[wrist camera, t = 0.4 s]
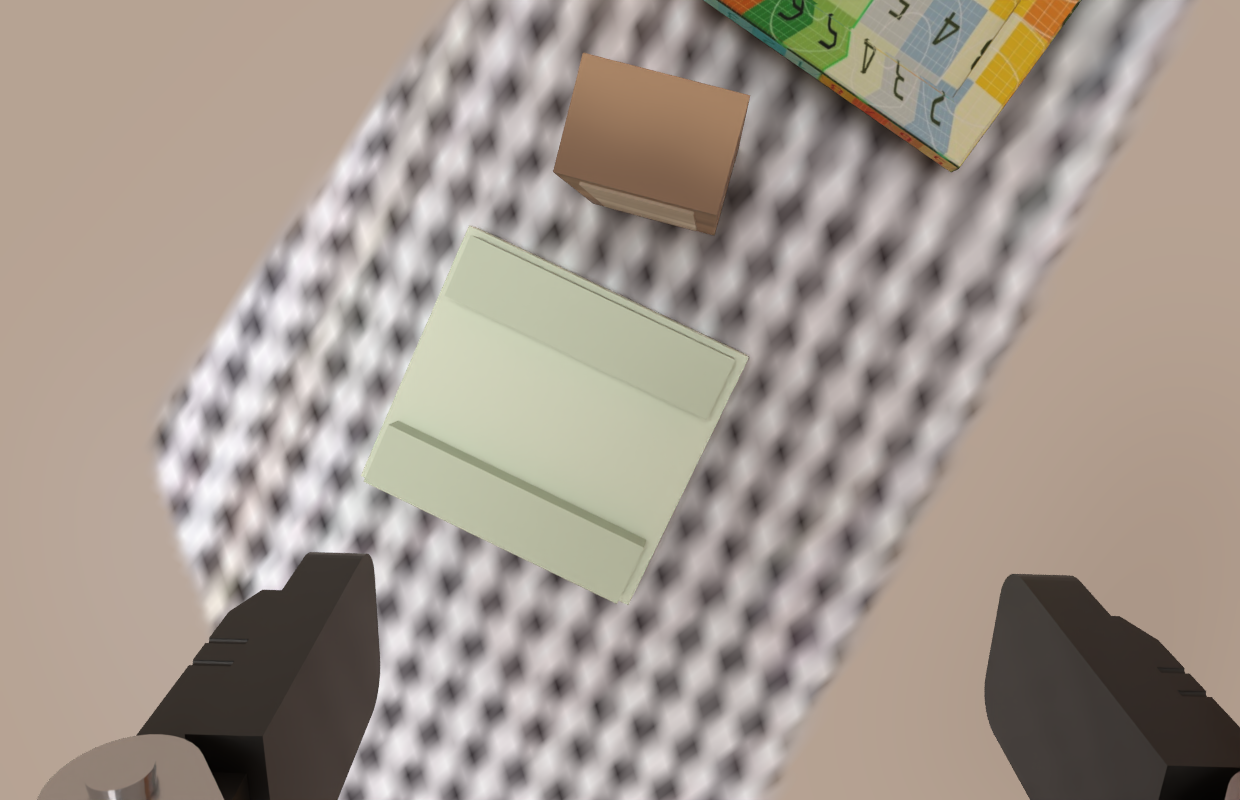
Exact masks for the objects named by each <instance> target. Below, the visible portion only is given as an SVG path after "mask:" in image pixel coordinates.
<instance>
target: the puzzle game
mask: <svg viewBox="0 0 1240 800" xmlns="http://www.w3.org/2000/svg"><path fill="white" fill-rule="evenodd" d="M704 1H705V2H707V3H708V4H709V5H711V6H712V7H714V8H715V9H717V10H718V11H719V12H721V13H722V14H724V15H725V16H727V17H728V18H730V19H731V20H732V21H734V22H735V23H737V24H738V25H740V26H741V27H742V28H744V29H745V30H747V31H748V32H750V33H751V34H753V35H754V36H755V37H757V38H758V39H760V40H761V41H763V42H764V43H766V44H767V45H768V46H770V47H771V48H773V49H774V50H776V51H777V52H778V53H780V54H781V55H783V56H784V57H786V58H787V59H789V60H790V61H791V62H793V63H794V64H796V65H797V66H799V67H800V68H801V69H803V70H804V71H806V72H807V73H809V74H810V75H812V76H813V77H814V78H816V79H817V80H819V81H820V82H822V83H823V84H824V85H826V86H827V87H829V88H830V89H832V90H833V91H835V92H836V93H837V94H839V95H840V96H842V97H843V98H845V99H846V100H847V101H849V102H850V103H852V104H853V105H855V106H856V107H858V108H859V109H860V110H862V111H863V112H865V113H866V114H868V115H869V116H870V117H872V118H873V119H875V120H876V121H878V122H879V123H881V124H882V125H883V126H885V127H886V128H888V129H889V130H891V131H892V132H893V133H895V134H896V135H898V136H899V137H901V138H902V139H904V140H905V141H906V142H908V143H909V144H911V145H912V146H914V147H915V148H917V149H918V150H919V151H921V152H922V153H924V154H925V155H927V156H928V157H929V158H931V159H932V160H934V161H935V162H937V163H938V164H940V165H941V166H942V167H944V168H945V169H947V170H948V171H950V172H953V171H955V170H957V169H959V168H960V166H961V165H962V164H963V162H964V161H965V159H966V158H967V157H968V155H969V154H970V153H971V151H972V150H973V148H974V147H975V146H976V144H977V143H978V142H979V140H980V139H981V138H982V136H983V135H984V133H985V132H986V131H987V129H988V128H989V127H990V125H991V124H992V122H993V121H994V120H995V118H996V117H997V116H998V114H999V113H1000V112H1001V110H1002V109H1003V107H1004V106H1005V105H1006V103H1007V102H1008V101H1009V99H1010V98H1011V96H1012V95H1013V94H1014V92H1015V91H1016V90H1017V88H1018V87H1019V85H1020V84H1021V83H1022V81H1023V80H1024V79H1025V77H1026V76H1027V75H1028V73H1029V72H1030V70H1031V69H1032V68H1033V66H1034V65H1035V64H1036V62H1037V61H1038V59H1039V58H1040V57H1041V55H1042V54H1043V53H1044V51H1045V50H1046V49H1047V47H1048V46H1049V44H1050V43H1051V42H1052V40H1053V39H1054V38H1055V36H1056V35H1057V33H1058V32H1059V31H1060V29H1061V28H1062V27H1063V25H1064V24H1065V22H1066V21H1067V20H1068V18H1069V17H1070V16H1071V14H1072V13H1073V12H1074V10H1075V9H1076V7H1077V6H1078V5H1079V3H1080V2H1081V1H1082V0H704Z"/></svg>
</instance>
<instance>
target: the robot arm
mask: <svg viewBox="0 0 1240 800" xmlns="http://www.w3.org/2000/svg"><path fill="white" fill-rule="evenodd" d="M379 678H380V651H379V636H378V620H377V604H376V589H375V574H374V566H373V562H372V559H371V556H370V555H369V554H356V553H322V552H310V553H308V554H307V555H306V556H305V557H304V558H303V560H302V561H301V563H300V564H299V566H298V567H297V569H296V570H295V572H294V573H293V575H292V576H291V578H290V579H289V581H288V582H287V584H286V585H285V586H284V588H283V589H282V590H262V591H260V592H258V593H257V594H255V595H254V596H252V597H251V598H249V599H248V600H246V601H245V602H243V603H242V604H240V605H239V606H237V607H236V608H234V609H232V610H231V611H229V612H228V614H227V615H226V616H225V618H224V619H223V620H222V622H221V623H220V624H219V626H218V627H217V628H216V630H215V631H214V632H213V634H212V635H211V636H210V638H209V643H205V644H204V646H203V647H202V649H201V650H200V651H199V652H198V654H197V655H196V657H195V658H194V659H193V665H189V666H188V667H187V669H186V670H185V671H184V673H183V674H182V675H181V677H180V678H179V679H178V681H177V682H176V683H175V685H174V686H173V687H172V689H171V690H170V691H169V693H168V694H167V695H166V697H165V698H164V699H163V701H162V702H161V703H160V705H159V706H158V707H157V709H156V710H155V711H154V713H153V714H152V715H151V717H150V718H149V719H148V721H147V722H146V723H145V725H144V726H143V727H142V729H141V730H140V731H139V733H138V734H137V735H136V736H133V737H128V738H123V739H119V740H116V741H112V742H109V743H106V744H104V745H101V746H99V747H96V748H94V749H92V750H90V751H88V752H86V753H84V754H82V755H80V756H79V757H77V758H76V759H74V760H72V761H70V762H69V763H68V764H66V765H65V766H64V767H63V768H61V769H60V770H59V771H58V772H57V773H56V774H55V775H54V776H53V777H52V778H51V779H50V780H49V781H48V782H47V784H46V785H45V786H44V788H43V789H42V791H41V793H40V795H39V796H38V799H37V800H338V797H339V795H340V792H341V790H342V787H343V785H344V782H345V780H346V777H347V775H348V772H349V770H350V767H351V765H352V763H353V760H354V758H355V755H356V753H357V750H358V748H359V745H360V743H361V740H362V738H363V735H364V733H365V730H366V728H367V725H368V723H369V720H370V718H371V716H372V713H373V710H374V707H375V703H376V699H377V694H378V687H379ZM985 705H986V712H987V717H988V720H989V724H990V726H991V729H992V731H993V733H994V735H995V737H996V738H997V741H998V742H999V744H1000V746H1001V748H1002V749H1003V751H1004V753H1005V755H1006V757H1007V759H1008V760H1009V762H1010V764H1011V766H1012V768H1013V770H1014V771H1015V773H1016V775H1017V777H1018V779H1019V780H1020V782H1021V784H1022V786H1023V788H1024V789H1025V791H1026V793H1027V795H1028V797H1029V798H1030V800H1240V727H1239V726H1238V725H1237V724H1236V723H1235V722H1234V721H1233V720H1232V718H1231V717H1230V716H1229V715H1228V714H1227V713H1226V712H1225V711H1224V710H1223V709H1222V708H1221V707H1220V706H1219V705H1218V704H1217V702H1216V701H1215V700H1214V699H1213V698H1212V697H1207V696H1206V691H1205V690H1204V689H1203V687H1202V686H1200V684H1199V683H1198V682H1197V681H1196V680H1195V679H1194V678H1193V677H1192V676H1191V675H1190V674H1185V672H1184V667H1183V666H1182V665H1181V664H1180V663H1179V662H1178V661H1177V660H1176V659H1175V658H1174V656H1172V654H1171V653H1170V652H1169V651H1168V650H1167V649H1166V648H1165V647H1164V646H1163V645H1162V644H1161V643H1160V642H1159V641H1158V640H1157V639H1155V638H1153V637H1152V636H1150V635H1149V634H1147V633H1146V632H1144V631H1142V630H1141V629H1139V628H1137V627H1136V626H1134V625H1133V624H1131V623H1129V622H1128V621H1126V620H1125V619H1123V618H1121V617H1120V616H1110V614H1109V613H1108V612H1107V611H1106V610H1105V609H1104V608H1103V607H1102V605H1101V604H1100V603H1099V602H1098V601H1097V600H1096V599H1095V598H1094V597H1093V595H1092V594H1091V593H1090V592H1089V591H1088V590H1087V589H1086V587H1085V586H1084V585H1083V584H1082V583H1081V582H1080V581H1079V580H1078V579H1077V578H1075V577H1074V576H1066V575H1032V574H1012V575H1010V576H1008V577H1007V579H1006V580H1005V582H1004V584H1003V586H1002V589H1001V594H1000V599H999V605H998V611H997V617H996V622H995V628H994V633H993V639H992V644H991V650H990V655H989V661H988V667H987V673H986V679H985Z"/></svg>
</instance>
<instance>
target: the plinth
mask: <svg viewBox="0 0 1240 800" xmlns="http://www.w3.org/2000/svg"><path fill="white" fill-rule="evenodd" d="M748 359H749V357H748V355H746V354H744V353H742V352H740V351H738V350H735V349H733V348H731V347H729V346H727V345H725V344H723V343H721V342H718V341H716V340H714V339H712V338H710V337H708V336H706V335H704V334H702V333H699V332H697V331H695V330H693V329H691V328H689V327H687V326H685V325H682V324H680V323H678V322H676V321H674V320H672V319H670V318H668V317H665V316H663V315H661V314H659V313H657V312H655V311H653V310H651V309H649V308H646V307H644V306H642V305H640V304H638V303H636V302H634V301H632V300H629V299H627V298H625V297H623V296H621V295H619V294H617V293H615V292H612V291H610V290H608V289H606V288H604V287H602V286H600V285H598V284H596V283H593V282H591V281H589V280H587V279H585V278H583V277H581V276H579V275H576V274H574V273H572V272H570V271H568V270H566V269H564V268H562V267H559V266H557V265H555V264H553V263H551V262H549V261H547V260H545V259H543V258H540V257H538V256H536V255H534V254H532V253H530V252H528V251H526V250H523V249H521V248H519V247H517V246H515V245H513V244H511V243H509V242H506V241H504V240H502V239H500V238H498V237H496V236H494V235H492V234H489V233H487V232H485V231H483V230H481V229H479V228H476V227H472V226H469V227H468V230H467V232H466V234H465V237H464V239H463V241H462V243H461V246H460V248H459V250H458V253H457V255H456V257H455V260H454V262H453V264H452V267H451V269H450V271H449V273H448V276H447V278H446V280H445V283H444V285H443V287H442V290H441V292H440V294H439V297H438V299H437V301H436V303H435V306H434V308H433V310H432V313H431V315H430V317H429V320H428V322H427V324H426V327H425V329H424V331H423V334H422V336H421V338H420V340H419V343H418V345H417V347H416V350H415V352H414V354H413V357H412V359H411V361H410V364H409V366H408V368H407V370H406V373H405V375H404V377H403V380H402V382H401V384H400V387H399V389H398V391H397V394H396V396H395V398H394V400H393V403H392V405H391V407H390V410H389V412H388V414H387V417H386V419H385V421H384V424H383V426H382V428H381V431H380V433H379V435H378V437H377V440H376V442H375V444H374V447H373V449H372V451H371V454H370V456H369V458H368V461H367V463H366V465H365V467H364V470H363V472H362V474H361V476H362V477H364V478H365V480H364V482H366V483H368V484H370V485H372V486H374V487H376V488H378V489H380V490H382V491H384V492H386V493H388V494H390V495H392V496H395V497H397V498H399V499H401V500H403V501H405V502H407V503H409V504H411V505H413V506H415V507H417V508H419V509H421V510H424V511H426V512H428V513H430V514H432V515H434V516H436V517H438V518H440V519H442V520H444V521H446V522H448V523H450V524H452V525H455V526H457V527H459V528H461V529H463V530H465V531H467V532H469V533H471V534H473V535H475V536H477V537H479V538H481V539H483V540H486V541H488V542H490V543H492V544H494V545H496V546H498V547H500V548H502V549H504V550H506V551H508V552H510V553H512V554H515V555H517V556H519V557H521V558H523V559H525V560H527V561H529V562H531V563H533V564H535V565H537V566H539V567H541V568H543V569H546V570H548V571H550V572H552V573H554V574H556V575H558V576H560V577H562V578H564V579H566V580H568V581H570V582H572V583H574V584H577V585H579V586H581V587H583V588H585V589H587V590H589V591H591V592H593V593H595V594H597V595H599V596H601V597H603V598H605V599H608V600H610V601H612V602H614V603H616V604H617V603H618V601H621V602H623V603H625V604H627V605H629V602H630V600H631V598H632V596H633V594H634V592H635V590H636V588H637V586H638V584H639V582H640V580H641V578H642V576H643V574H644V572H645V570H646V568H647V566H648V564H649V561H650V559H651V557H652V555H653V553H654V551H655V549H656V547H657V545H658V543H659V541H660V539H661V537H662V535H663V533H664V531H665V529H666V527H667V525H668V523H669V520H670V518H671V516H672V514H673V512H674V510H675V508H676V506H677V504H678V502H679V500H680V498H681V496H682V494H683V492H684V490H685V488H686V486H687V484H688V482H689V479H690V477H691V475H692V473H693V471H694V469H695V467H696V465H697V463H698V461H699V459H700V457H701V455H702V453H703V451H704V449H705V447H706V445H707V443H708V441H709V438H710V436H711V434H712V432H713V430H714V428H715V426H716V424H717V422H718V420H719V418H720V416H721V414H722V412H723V410H724V408H725V406H726V404H727V402H728V400H729V397H730V395H731V393H732V391H733V389H734V387H735V385H736V383H737V381H738V379H739V377H740V375H741V373H742V371H743V369H744V367H745V365H746V363H747V361H748Z"/></svg>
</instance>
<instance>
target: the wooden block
mask: <svg viewBox="0 0 1240 800" xmlns="http://www.w3.org/2000/svg"><path fill="white" fill-rule="evenodd" d="M749 98H750V95H746V94H742V93H738V92H734V91H731V90H727V89H723V88H719V87H715V86H711V85H707V84H703V83H699V82H695V81H692V80H688V79H684V78H680V77H676V76H672V75H668V74H664V73H660V72H656V71H653V70H649V69H645V68H641V67H637V66H633V65H629V64H625V63H621V62H617V61H614V60H610V59H606V58H602V57H598V56H594V55H590V54H586V53H583V55H582V59H581V63H580V67H579V71H578V75H577V79H576V83H575V87H574V91H573V95H572V99H571V103H570V107H569V111H568V115H567V119H566V123H565V127H564V131H563V134H562V138H561V142H560V146H559V150H558V154H557V158H556V162H555V166H554V170H553V172H554V173H555V174H556V175H558V176H559V177H560V178H562V179H563V180H564V181H565V182H567V183H568V184H569V185H570V186H572V187H573V188H574V189H576V190H577V191H578V192H579V193H581V194H582V195H583V196H584V197H586V198H587V199H588V200H590V201H591V202H592V203H593V204H597V205H601V206H605V207H607V208H611V209H615V210H619V211H622V212H626V213H630V214H634V215H637V216H641V217H645V218H649V219H652V220H656V221H660V222H664V223H667V224H671V225H675V226H679V227H682V228H686V229H690V230H694V231H699V232H703V233H706V234H710V235H715V232H716V228H717V225H718V221H719V217H720V214H721V210H722V206H723V203H724V199H725V196H726V192H727V188H728V185H729V181H730V178H731V174H732V170H733V167H734V163H735V159H736V156H737V152H738V149H739V144H740V140H741V135H742V130H743V126H744V121H745V117H746V112H747V107H748V103H749Z"/></svg>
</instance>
